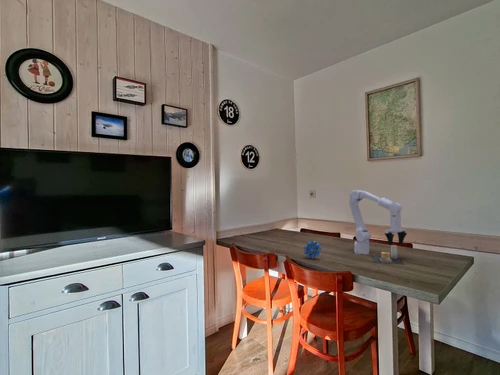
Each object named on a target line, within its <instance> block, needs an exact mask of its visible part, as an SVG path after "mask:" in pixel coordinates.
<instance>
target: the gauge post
mask: <svg viewBox="0 0 500 375" xmlns="http://www.w3.org/2000/svg"><path fill="white" fill-rule="evenodd" d="M390 259H393V260H394V259H395V260H396V259H397V260H398V245H396V244H392V245H390Z"/></svg>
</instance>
